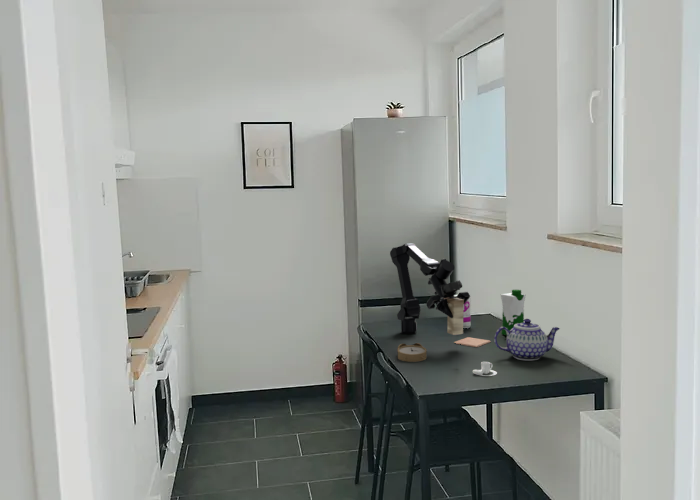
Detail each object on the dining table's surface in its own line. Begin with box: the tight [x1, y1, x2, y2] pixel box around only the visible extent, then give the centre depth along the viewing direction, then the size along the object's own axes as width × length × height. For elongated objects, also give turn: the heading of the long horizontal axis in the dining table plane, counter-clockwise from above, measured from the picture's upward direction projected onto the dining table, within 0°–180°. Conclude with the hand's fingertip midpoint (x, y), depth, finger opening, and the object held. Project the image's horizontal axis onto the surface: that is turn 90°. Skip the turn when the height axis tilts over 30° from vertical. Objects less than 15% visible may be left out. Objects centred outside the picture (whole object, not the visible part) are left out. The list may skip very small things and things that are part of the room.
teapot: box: [493, 318, 561, 361], centre depth 254 cm, size 25×15×15 cm, turn 88°
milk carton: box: [500, 289, 526, 336], centre depth 291 cm, size 9×9×20 cm
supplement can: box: [454, 293, 472, 329], centre depth 308 cm, size 8×8×15 cm
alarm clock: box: [397, 342, 427, 363], centre depth 259 cm, size 11×5×15 cm
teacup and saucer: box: [472, 361, 498, 377], centre depth 235 cm, size 9×8×4 cm
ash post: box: [446, 298, 464, 336], centre depth 269 cm, size 5×5×14 cm
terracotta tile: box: [453, 336, 491, 348], centre depth 279 cm, size 11×11×1 cm
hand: (457, 316), depth 268 cm, fingers closed on ash post, 4 cm apart
